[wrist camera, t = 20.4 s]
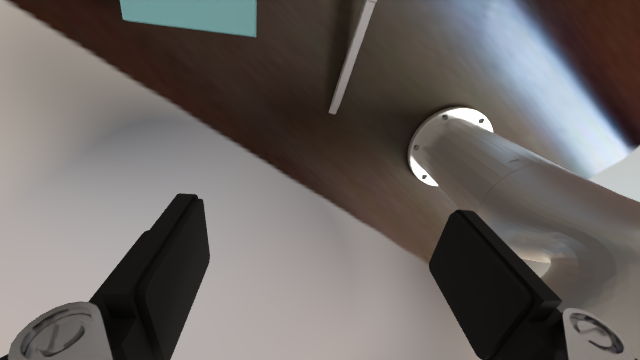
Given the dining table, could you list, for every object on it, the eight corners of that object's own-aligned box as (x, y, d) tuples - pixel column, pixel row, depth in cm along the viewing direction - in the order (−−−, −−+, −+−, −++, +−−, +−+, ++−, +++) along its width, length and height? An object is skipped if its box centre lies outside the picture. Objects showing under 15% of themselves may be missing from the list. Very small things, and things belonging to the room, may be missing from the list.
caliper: (383, -78, 27) (403, -106, 22) (392, -74, 27) (415, -101, 22) (327, 112, 36) (332, 125, 31) (335, 114, 37) (341, 127, 31)
